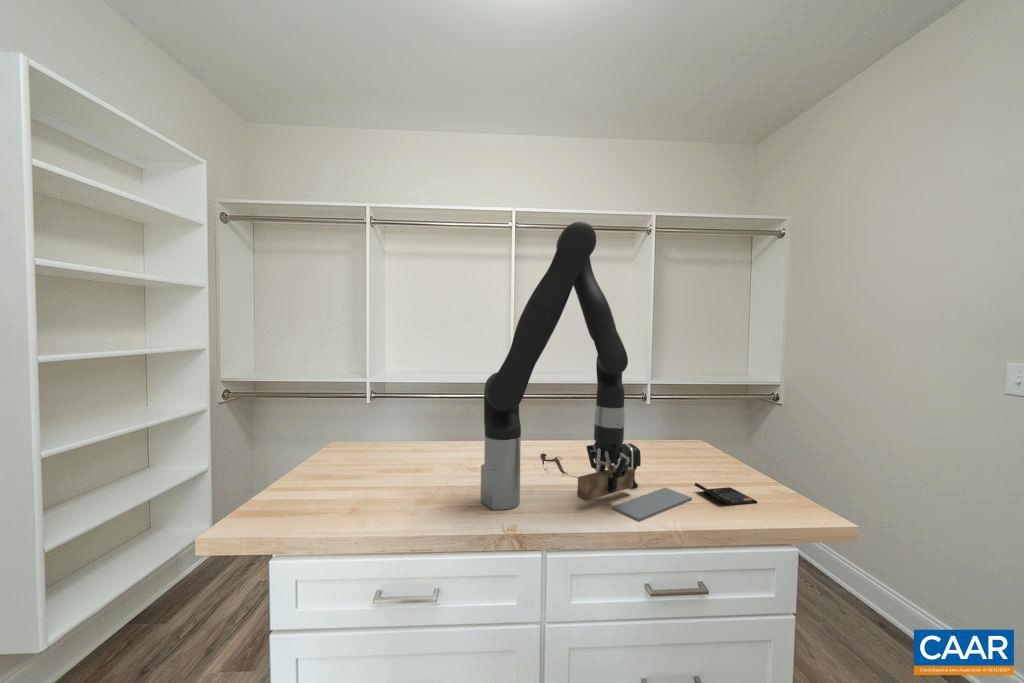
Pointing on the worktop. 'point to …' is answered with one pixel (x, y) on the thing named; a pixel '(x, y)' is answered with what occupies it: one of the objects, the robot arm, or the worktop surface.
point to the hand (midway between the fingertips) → (606, 488)
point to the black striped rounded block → (632, 457)
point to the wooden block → (602, 484)
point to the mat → (651, 503)
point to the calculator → (728, 495)
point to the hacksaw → (556, 462)
